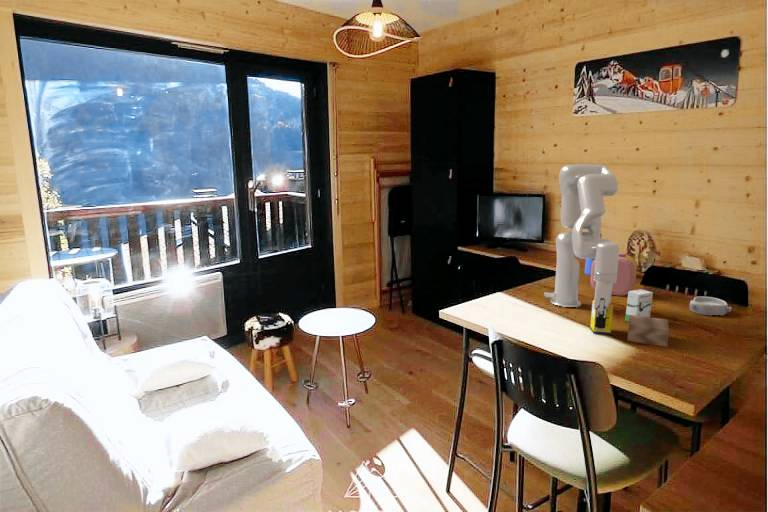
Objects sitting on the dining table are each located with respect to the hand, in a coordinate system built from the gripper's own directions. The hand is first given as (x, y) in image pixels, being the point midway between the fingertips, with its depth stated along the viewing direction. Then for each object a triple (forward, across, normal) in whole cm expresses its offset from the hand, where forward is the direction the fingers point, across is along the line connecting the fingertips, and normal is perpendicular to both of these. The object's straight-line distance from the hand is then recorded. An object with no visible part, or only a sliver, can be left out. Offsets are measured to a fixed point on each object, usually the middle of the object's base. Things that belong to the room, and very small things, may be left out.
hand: (600, 324), depth 177 cm
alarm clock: (+3, -61, +1) cm, 61 cm away
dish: (+3, -47, +38) cm, 61 cm away
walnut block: (+3, 0, +15) cm, 15 cm away
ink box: (+3, -20, +12) cm, 24 cm away
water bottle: (+3, -99, -10) cm, 100 cm away
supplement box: (+3, 0, 0) cm, 3 cm away
